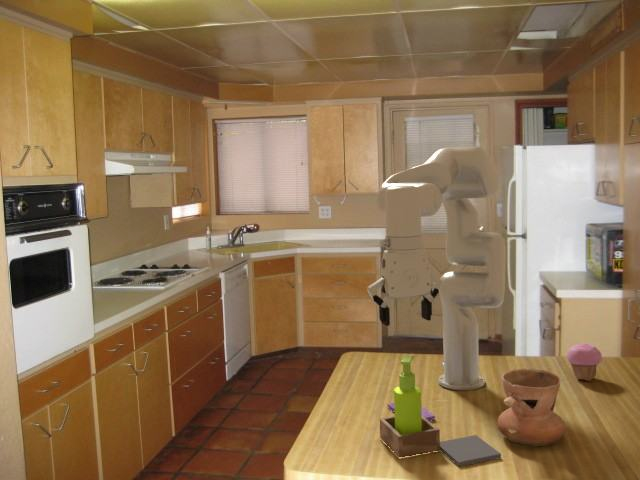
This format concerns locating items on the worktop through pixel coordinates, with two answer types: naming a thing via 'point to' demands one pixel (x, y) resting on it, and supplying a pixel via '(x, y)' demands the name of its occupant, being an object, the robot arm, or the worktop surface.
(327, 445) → the worktop surface
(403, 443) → the holder
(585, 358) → the cupcake
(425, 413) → the sponges
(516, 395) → the ceramic jug
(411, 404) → the soap dispenser
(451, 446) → the mat
